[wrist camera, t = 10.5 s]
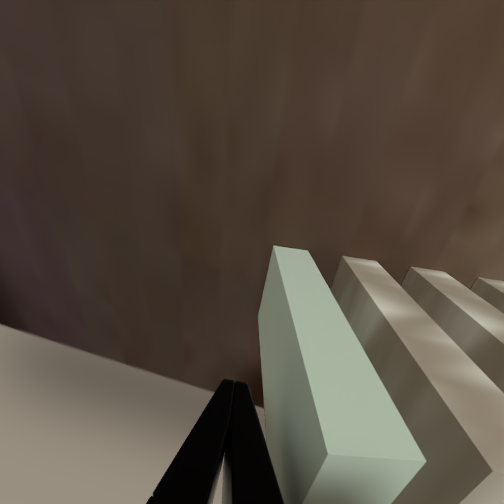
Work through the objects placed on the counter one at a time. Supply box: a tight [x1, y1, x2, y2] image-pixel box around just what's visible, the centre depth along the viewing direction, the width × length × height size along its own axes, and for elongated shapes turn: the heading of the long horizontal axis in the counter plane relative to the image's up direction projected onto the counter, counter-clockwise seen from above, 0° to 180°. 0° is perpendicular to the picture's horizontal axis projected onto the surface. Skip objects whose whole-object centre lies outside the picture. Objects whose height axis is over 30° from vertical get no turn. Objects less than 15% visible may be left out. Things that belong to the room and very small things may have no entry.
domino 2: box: [401, 267, 504, 393], centre depth 10 cm, size 2×5×10 cm, turn 172°
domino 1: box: [258, 246, 426, 504], centre depth 10 cm, size 2×5×10 cm, turn 171°
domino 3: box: [331, 256, 504, 504], centre depth 10 cm, size 2×5×10 cm, turn 171°
